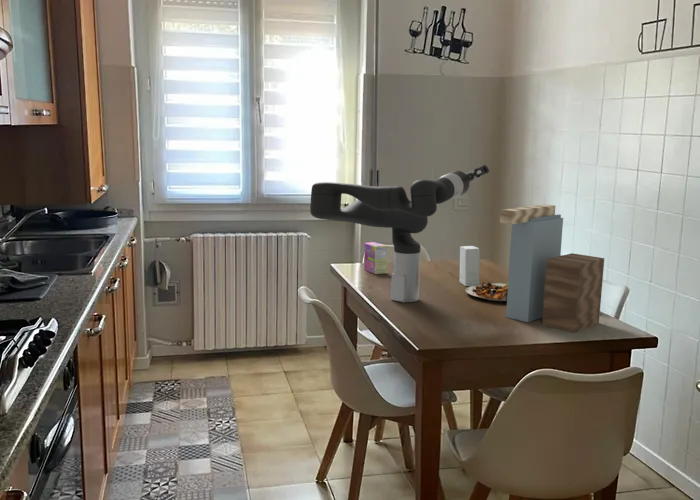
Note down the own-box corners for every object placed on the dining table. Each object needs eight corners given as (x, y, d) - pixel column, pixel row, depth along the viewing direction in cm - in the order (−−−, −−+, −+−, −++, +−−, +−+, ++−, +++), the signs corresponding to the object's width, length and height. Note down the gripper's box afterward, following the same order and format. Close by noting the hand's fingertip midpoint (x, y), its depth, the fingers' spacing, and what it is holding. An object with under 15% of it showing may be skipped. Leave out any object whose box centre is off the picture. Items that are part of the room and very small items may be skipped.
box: (363, 269, 298) (364, 242, 296) (375, 269, 300) (376, 241, 298) (374, 274, 289) (375, 246, 287) (386, 273, 291) (387, 245, 289)
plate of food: (543, 291, 266) (544, 275, 265) (543, 308, 239) (543, 290, 238) (469, 287, 273) (469, 272, 272) (461, 303, 247) (461, 286, 246)
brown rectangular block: (511, 224, 210) (512, 211, 210) (499, 222, 213) (500, 209, 212) (554, 217, 228) (555, 205, 228) (543, 216, 231) (544, 204, 231)
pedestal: (527, 322, 222) (534, 219, 216) (506, 317, 227) (512, 216, 221) (556, 312, 234) (563, 214, 228) (535, 308, 240) (541, 212, 234)
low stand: (574, 332, 211) (580, 264, 208) (542, 324, 219) (546, 259, 215) (598, 322, 223) (604, 258, 219) (567, 315, 230) (571, 253, 227)
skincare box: (479, 286, 271) (481, 248, 268) (464, 286, 270) (466, 248, 267) (472, 281, 279) (474, 245, 276) (458, 281, 278) (459, 245, 276)
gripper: (464, 164, 205) (489, 154, 217) (428, 184, 214) (453, 173, 227) (475, 187, 205) (499, 176, 217) (439, 205, 214) (464, 194, 227)
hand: (476, 174), depth 222 cm, fingers open, 8 cm apart
